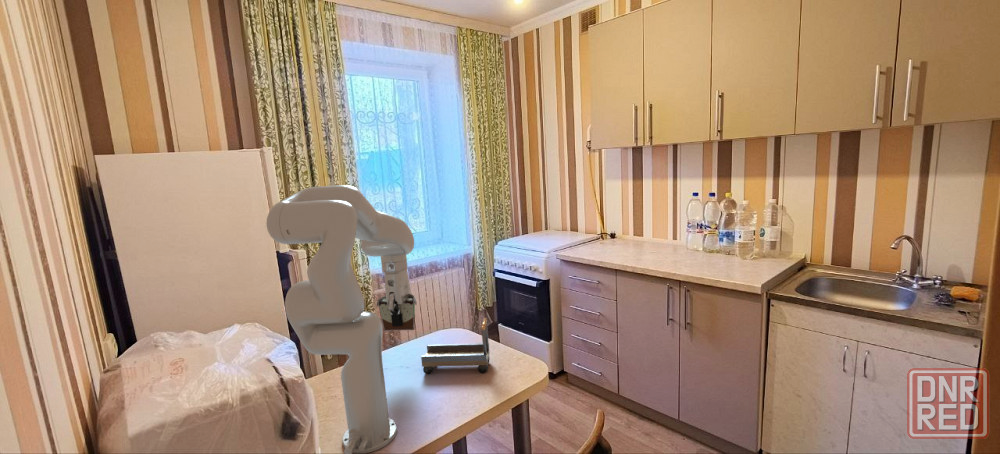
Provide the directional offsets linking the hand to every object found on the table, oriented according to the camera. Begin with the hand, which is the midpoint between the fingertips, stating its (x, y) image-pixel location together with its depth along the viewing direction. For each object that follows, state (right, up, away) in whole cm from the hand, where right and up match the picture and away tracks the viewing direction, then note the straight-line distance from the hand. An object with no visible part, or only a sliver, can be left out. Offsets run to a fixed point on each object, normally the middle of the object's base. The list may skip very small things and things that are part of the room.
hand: (400, 321), depth 132 cm
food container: (0, -2, +1) cm, 2 cm away
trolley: (+18, -15, +1) cm, 23 cm away
